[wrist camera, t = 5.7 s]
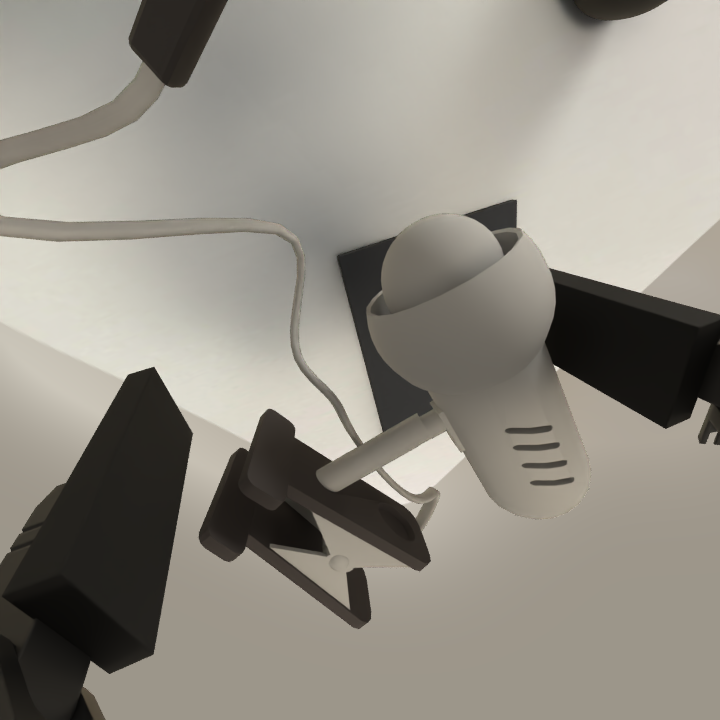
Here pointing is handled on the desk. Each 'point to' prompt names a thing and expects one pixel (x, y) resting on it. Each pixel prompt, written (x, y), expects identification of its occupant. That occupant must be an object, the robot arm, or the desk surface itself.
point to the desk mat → (362, 286)
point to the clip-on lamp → (394, 344)
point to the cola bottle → (616, 8)
